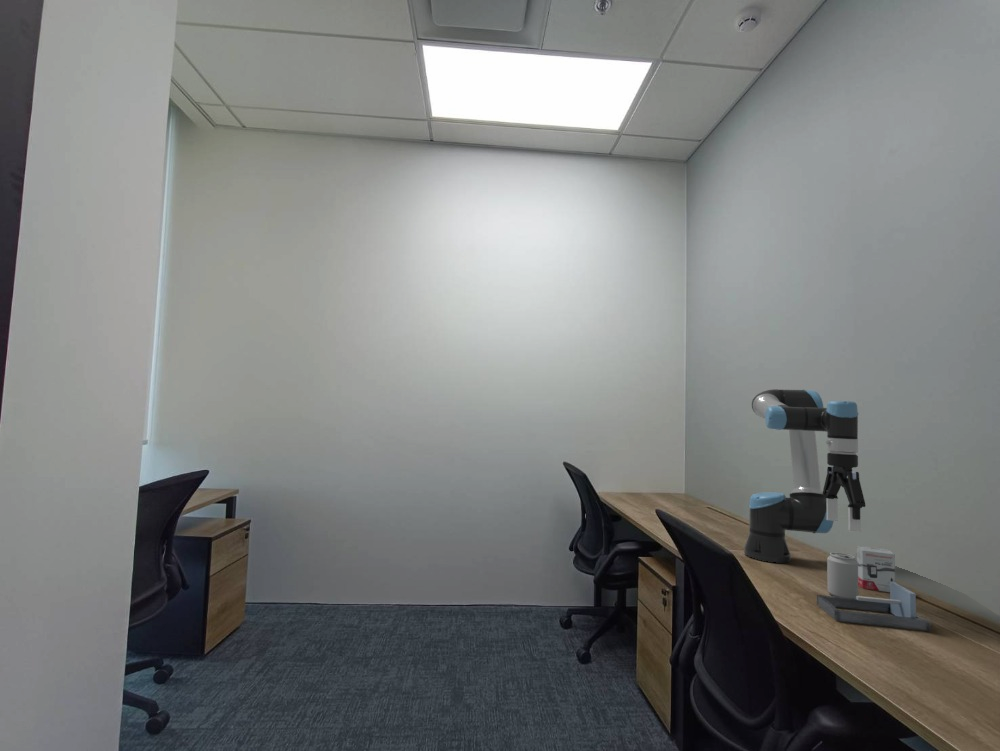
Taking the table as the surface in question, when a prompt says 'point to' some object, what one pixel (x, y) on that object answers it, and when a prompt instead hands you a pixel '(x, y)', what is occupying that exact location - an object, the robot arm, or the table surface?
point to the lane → (868, 618)
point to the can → (842, 575)
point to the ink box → (875, 568)
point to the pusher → (897, 601)
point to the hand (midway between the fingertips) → (842, 525)
